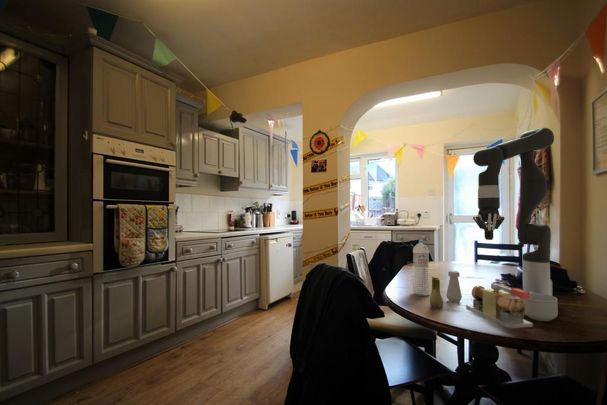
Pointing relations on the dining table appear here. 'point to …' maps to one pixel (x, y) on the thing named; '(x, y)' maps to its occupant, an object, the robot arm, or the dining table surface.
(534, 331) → the dining table surface
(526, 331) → the dining table surface
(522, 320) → the pipe run
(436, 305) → the fennel bulb
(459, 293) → the salt shaker
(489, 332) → the dining table surface
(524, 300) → the teacup
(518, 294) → the valve lever
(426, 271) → the water bottle
